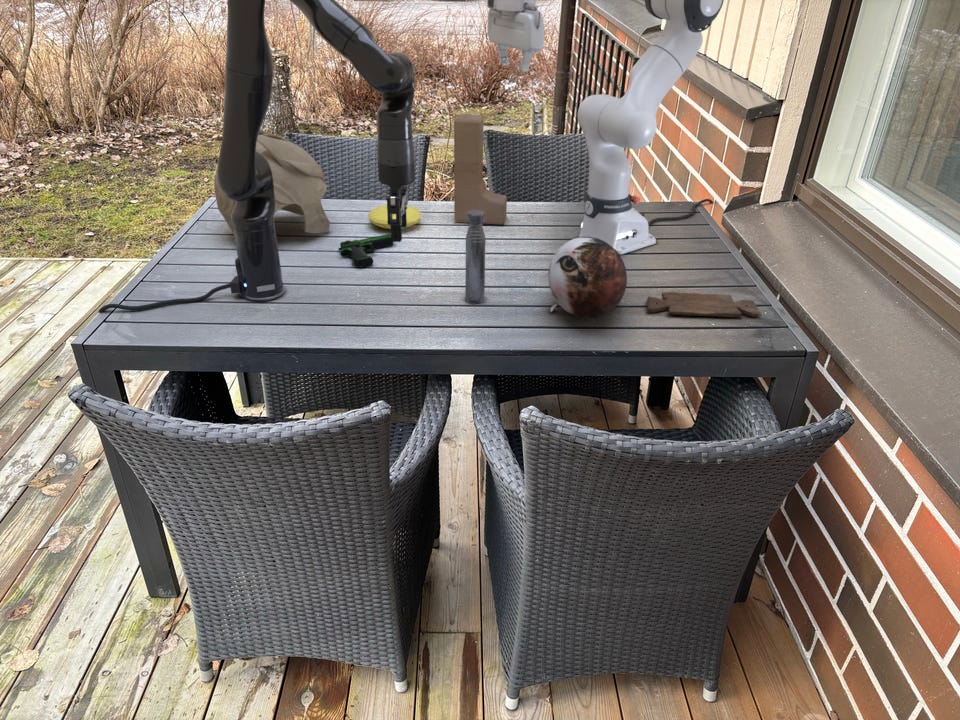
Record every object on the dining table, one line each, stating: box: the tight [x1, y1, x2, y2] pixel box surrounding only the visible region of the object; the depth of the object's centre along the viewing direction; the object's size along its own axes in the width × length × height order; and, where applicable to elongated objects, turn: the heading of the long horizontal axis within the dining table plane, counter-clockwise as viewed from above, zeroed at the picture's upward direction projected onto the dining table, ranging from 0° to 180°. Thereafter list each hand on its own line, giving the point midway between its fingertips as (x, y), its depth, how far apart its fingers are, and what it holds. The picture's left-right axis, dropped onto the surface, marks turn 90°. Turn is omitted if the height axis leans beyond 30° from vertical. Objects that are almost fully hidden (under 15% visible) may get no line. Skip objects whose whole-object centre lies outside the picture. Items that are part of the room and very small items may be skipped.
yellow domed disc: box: [367, 204, 423, 230], centre depth 210 cm, size 16×16×7 cm
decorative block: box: [453, 113, 508, 226], centre depth 209 cm, size 8×15×30 cm, turn 82°
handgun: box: [338, 233, 394, 268], centre depth 191 cm, size 16×3×15 cm
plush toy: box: [547, 236, 628, 319], centre depth 161 cm, size 22×18×20 cm
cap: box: [466, 210, 484, 225], centre depth 159 cm, size 4×4×2 cm
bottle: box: [464, 223, 486, 305], centre depth 164 cm, size 4×4×21 cm
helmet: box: [213, 128, 331, 235], centre depth 198 cm, size 27×30×30 cm
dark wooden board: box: [646, 291, 762, 318], centre depth 167 cm, size 26×2×10 cm
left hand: (399, 233), depth 155 cm, fingers open, 8 cm apart
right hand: (513, 68), depth 165 cm, fingers open, 8 cm apart
